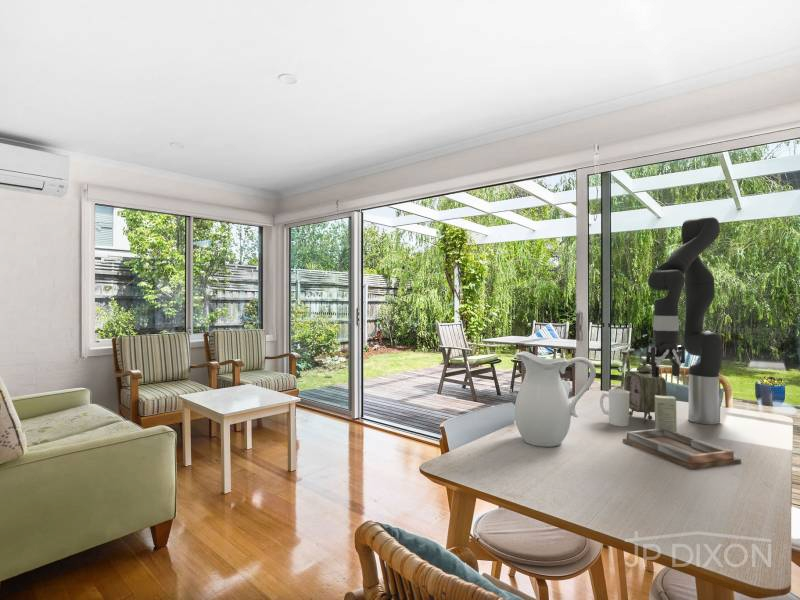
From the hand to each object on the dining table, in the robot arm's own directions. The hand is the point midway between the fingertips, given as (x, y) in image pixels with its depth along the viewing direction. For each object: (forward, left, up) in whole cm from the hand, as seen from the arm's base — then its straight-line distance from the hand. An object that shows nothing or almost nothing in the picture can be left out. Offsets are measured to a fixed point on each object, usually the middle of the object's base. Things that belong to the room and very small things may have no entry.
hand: (665, 376), depth 154 cm
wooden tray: (+13, +16, -19) cm, 28 cm away
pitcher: (+44, -1, -19) cm, 48 cm away
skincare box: (0, 0, -19) cm, 19 cm away
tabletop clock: (-6, -15, -19) cm, 25 cm away
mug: (+9, -14, -19) cm, 25 cm away
